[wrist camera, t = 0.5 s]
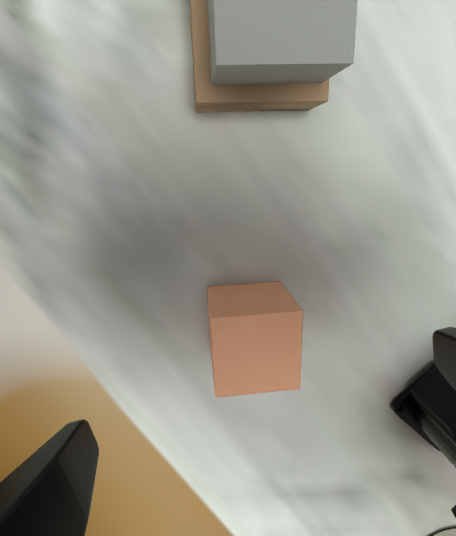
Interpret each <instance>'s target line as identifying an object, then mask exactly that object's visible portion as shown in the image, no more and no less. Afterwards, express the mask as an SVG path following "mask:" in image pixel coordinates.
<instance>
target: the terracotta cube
mask: <svg viewBox="0 0 456 536" xmlns="http://www.w3.org/2000/svg"><path fill="white" fill-rule="evenodd" d="M207 297H208V314H209V331H210V348H211V359H212V369H213V378H214V388H215V397H225V396H235V395H245V394H255V393H264V392H274V391H284V390H294V389H300V381H301V351H302V320H303V311H302V309H301V308H300V307H299V305H298V304H297V303H296V302H295V300H294V299H293V298H292V296H291V295H290V294H289V293H288V291H287V290H286V289H285V287H284V286H283V285H282V284H281V282H280V281H279V282H265V283H251V284H236V285H222V286H208V287H207Z"/></svg>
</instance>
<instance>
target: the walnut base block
mask: <svg viewBox="0 0 456 536" xmlns="http://www.w3.org/2000/svg"><path fill="white" fill-rule="evenodd" d="M190 18H191V37H192V55H193V74H194V93H195V112H236V111H301V110H310V109H312V108H314V107H316V106H318V105H321V104H323V103H325V102H327V101H328V90H329V79H327V80H326V81H324V82H322V83H281V84H228V85H211V70H210V50H209V29H208V9H207V0H190Z"/></svg>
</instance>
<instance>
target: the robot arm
mask: <svg viewBox="0 0 456 536" xmlns="http://www.w3.org/2000/svg"><path fill="white" fill-rule="evenodd" d="M433 354H434V361H435V365H434V366H433V367H432V368H431V369H430V370H428V371H427V372H426V373H425V374H424V375H423V376H422V377H421V378H419V379H418V380H417V381H416V382H415V383H414V384H413V385H412V386H410V387H409V388H408V389H407V390H406V391H405V392H404V393H403V394H401V395H400V396H399V397H398V398H397V399H396V400H395V401H393V403H392V404H391V409H392V410H393V411H394V412H395V414H397V415H398V416H399V417H400V418H401V419H402V420H404V421H405V422H406V423H407V424H408V425H409V426H411V427H412V428H413V429H414V430H415V431H416V432H417V433H419V434H420V435H421V436H422V437H423V438H424V439H426V440H427V441H428V442H429V443H430V444H431V445H433V446H434V447H435V448H436V449H437V450H438V451H441V452H442V453H443V454H444V455H445V456H446V457H447V458H448V460H449V461H450V462H451V463H452V464H453V465H454V466H455V468H456V328H454V327H447V328H444V329H440V330H436V331H435V332H434V333H433ZM398 407H399V408H398ZM98 456H99V448H98V444H97V441H96V439H95V437H94V435H93V432H92V430H91V427H90V425H89V423H88V422H87V421H86V420H83V419H82V420H79V421H74V422H70V423H68V424H67V425H66V426H64V427H63V428H62V429H61V430H60V431H59V432H57V433H56V434H55V435H54V436H53V437H52V438H51V439H50V440H48V441H47V442H46V443H45V444H44V445H43V446H41V447H40V448H39V449H38V450H37V451H36V452H35V453H33V454H32V455H31V456H30V457H29V458H28V459H27V460H25V461H24V462H23V463H22V464H21V465H20V466H19V467H17V468H16V469H15V470H14V471H13V472H12V473H11V474H10V475H8V476H7V477H6V478H5V479H4V480H3V481H2V482H0V536H84V535H85V531H86V527H87V523H88V518H89V513H90V507H91V501H92V494H93V488H94V481H95V475H96V469H97V462H98ZM451 510H452V512H453V514H454V516H455V517H456V505H455V506H454V507H453V508H452V509H451Z"/></svg>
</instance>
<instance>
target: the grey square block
mask: <svg viewBox="0 0 456 536" xmlns="http://www.w3.org/2000/svg"><path fill="white" fill-rule="evenodd" d="M207 9H208V29H209V50H210V70H211V85H228V84H281V83H322V82H324V81H326V80H327V79H329V78H330V77H332V76H334V75H335V74H337V73H338V72H340V71H342V70H343V69H345V68H346V67H348V66H350V65H351V64H353V61H354V45H355V29H356V13H357V0H207Z"/></svg>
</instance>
